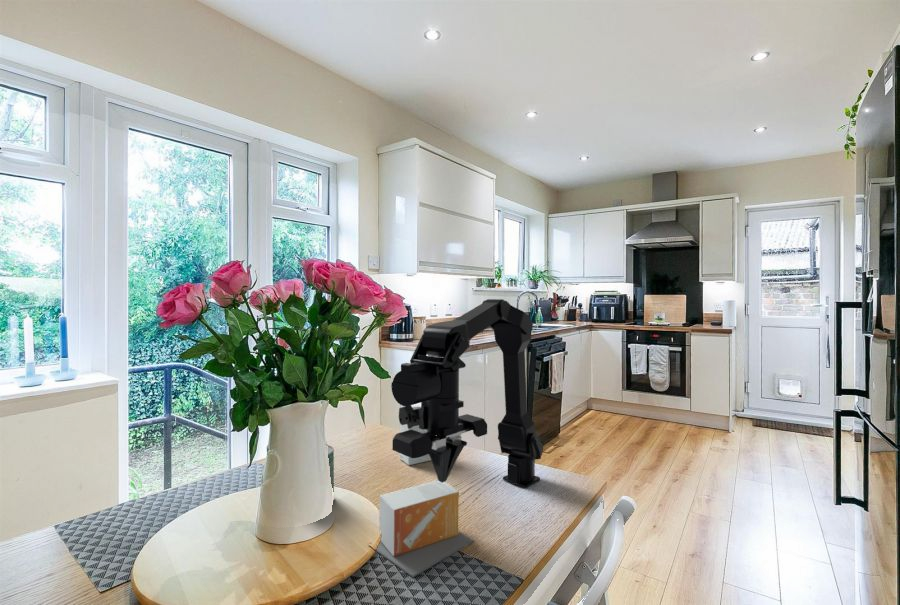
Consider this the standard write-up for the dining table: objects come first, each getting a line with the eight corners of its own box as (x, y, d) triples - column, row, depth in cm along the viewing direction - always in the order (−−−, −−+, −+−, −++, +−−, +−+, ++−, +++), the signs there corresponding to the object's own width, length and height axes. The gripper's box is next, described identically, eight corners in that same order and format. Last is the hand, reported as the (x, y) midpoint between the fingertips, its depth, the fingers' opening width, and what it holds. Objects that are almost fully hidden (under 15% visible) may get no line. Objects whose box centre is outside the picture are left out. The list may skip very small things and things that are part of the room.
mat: (427, 516, 86) (427, 515, 86) (473, 541, 77) (473, 539, 77) (368, 545, 76) (368, 543, 76) (412, 577, 67) (412, 575, 67)
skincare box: (408, 466, 111) (408, 408, 110) (398, 458, 116) (398, 403, 115) (436, 459, 115) (437, 403, 115) (425, 452, 120) (425, 399, 120)
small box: (459, 535, 79) (393, 558, 72) (441, 519, 84) (378, 539, 77) (459, 490, 78) (393, 510, 71) (441, 477, 84) (378, 494, 77)
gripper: (448, 381, 90) (447, 456, 91) (373, 395, 77) (373, 483, 78) (489, 390, 83) (488, 471, 83) (414, 407, 69) (413, 504, 70)
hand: (442, 481), depth 78 cm, fingers closed
